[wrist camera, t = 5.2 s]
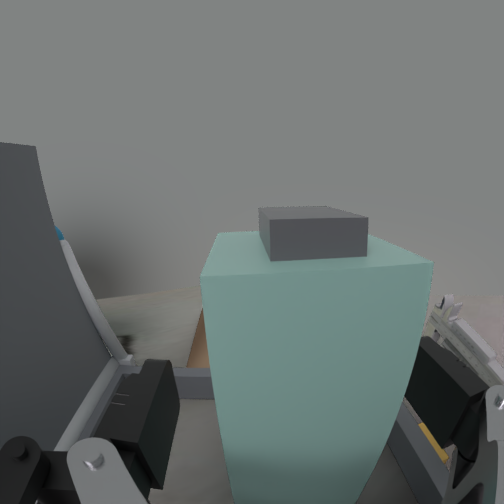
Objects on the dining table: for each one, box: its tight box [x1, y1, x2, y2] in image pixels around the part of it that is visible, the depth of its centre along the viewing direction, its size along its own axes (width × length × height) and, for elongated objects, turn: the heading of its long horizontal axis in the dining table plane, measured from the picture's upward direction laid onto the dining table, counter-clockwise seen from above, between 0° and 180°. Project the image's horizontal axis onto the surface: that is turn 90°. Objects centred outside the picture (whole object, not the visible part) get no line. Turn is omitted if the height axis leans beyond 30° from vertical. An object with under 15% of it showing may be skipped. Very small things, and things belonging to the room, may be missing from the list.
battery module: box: [200, 206, 434, 504], centre depth 8 cm, size 4×4×13 cm
